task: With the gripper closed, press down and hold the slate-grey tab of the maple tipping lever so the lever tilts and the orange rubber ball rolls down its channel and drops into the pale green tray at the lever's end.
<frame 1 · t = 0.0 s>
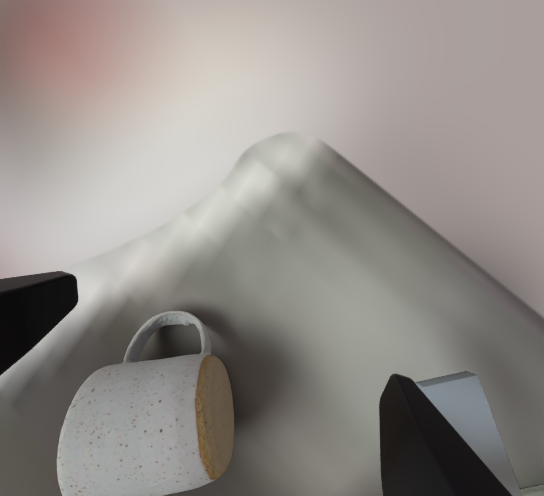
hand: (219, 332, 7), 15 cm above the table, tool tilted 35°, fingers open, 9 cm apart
ceramic mug: (180, 382, 22), on the table
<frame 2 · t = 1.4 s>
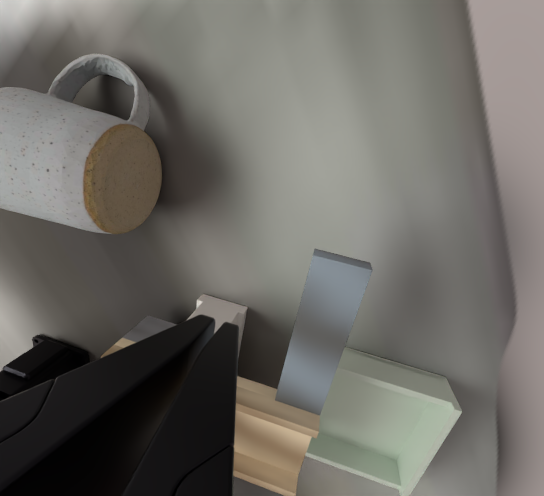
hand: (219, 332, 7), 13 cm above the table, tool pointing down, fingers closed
lever: (221, 344, 19), point 4 cm above the table, hinge at 0.0°, touching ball
ceramic mug: (119, 146, 21), on the table
stand: (216, 355, 25), on the table
tray: (365, 403, 23), on the table
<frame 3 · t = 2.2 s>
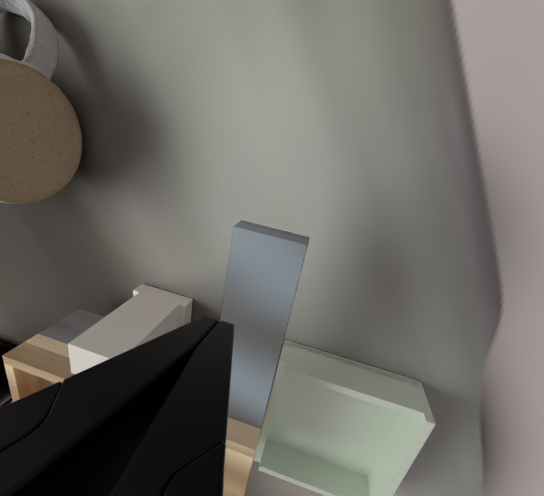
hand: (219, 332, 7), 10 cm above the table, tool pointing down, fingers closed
lever: (149, 342, 16), point 4 cm above the table, hinge at 0.0°, touching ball
ceramic mug: (36, 104, 17), on the table
stand: (164, 355, 22), on the table
tray: (330, 411, 20), on the table
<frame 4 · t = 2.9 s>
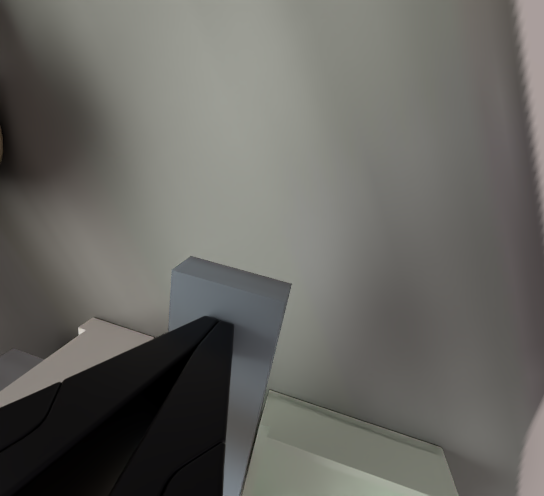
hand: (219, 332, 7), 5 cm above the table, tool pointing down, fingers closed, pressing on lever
lever: (86, 405, 12), point 4 cm above the table, hinge at 0.1°, touching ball, gripper
stand: (124, 400, 18), on the table
tray: (327, 475, 16), on the table
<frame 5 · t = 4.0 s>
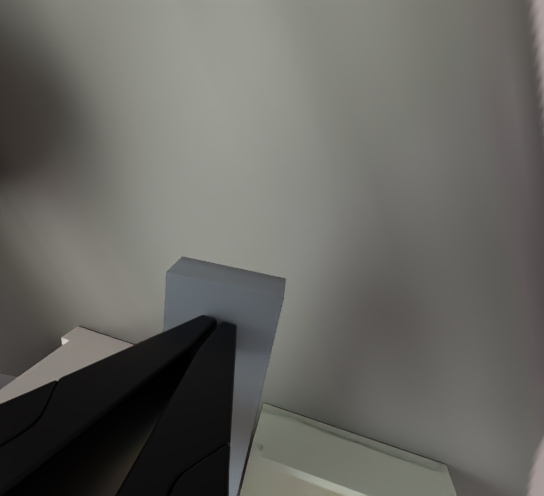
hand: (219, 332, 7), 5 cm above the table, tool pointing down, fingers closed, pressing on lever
lever: (67, 419, 11), point 4 cm above the table, hinge at 7.1°, touching gripper
stand: (112, 412, 17), on the table
tray: (324, 491, 15), on the table
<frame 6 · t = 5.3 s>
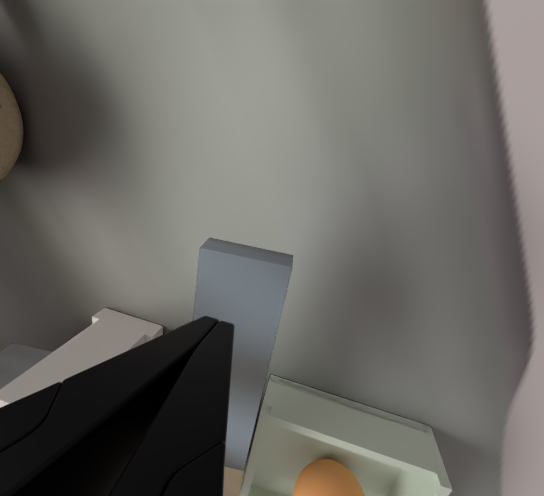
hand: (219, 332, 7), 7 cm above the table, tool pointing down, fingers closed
lever: (103, 382, 13), point 4 cm above the table, hinge at 7.1°
stand: (133, 387, 19), on the table
tray: (324, 455, 17), on the table
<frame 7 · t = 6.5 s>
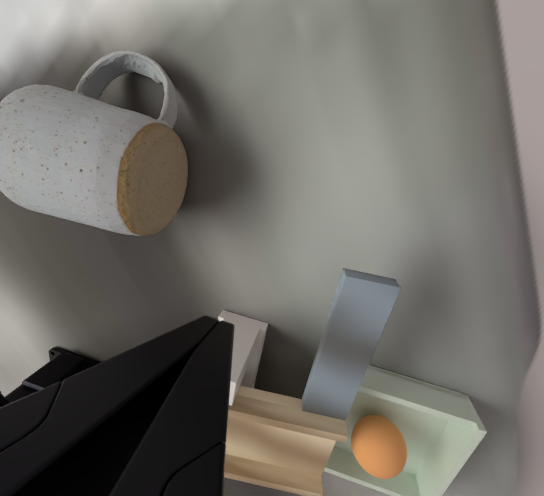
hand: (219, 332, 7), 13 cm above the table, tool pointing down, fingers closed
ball: (378, 445, 21), point 2 cm above the table, tilted 56°, touching tray
lever: (245, 361, 19), point 4 cm above the table, hinge at 7.1°
ceramic mug: (143, 145, 20), on the table
stand: (235, 370, 25), on the table
tray: (384, 419, 23), on the table
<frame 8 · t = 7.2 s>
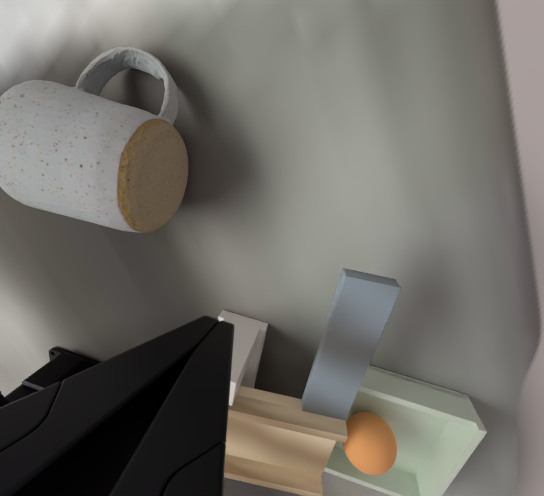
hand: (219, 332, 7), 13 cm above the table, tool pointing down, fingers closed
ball: (368, 441, 21), point 2 cm above the table, tilted 36°, touching tray
lever: (245, 361, 19), point 4 cm above the table, hinge at 7.1°
ceramic mug: (144, 142, 20), on the table
stand: (235, 370, 25), on the table
tray: (384, 419, 23), on the table
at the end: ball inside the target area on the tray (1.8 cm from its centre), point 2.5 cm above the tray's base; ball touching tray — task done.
